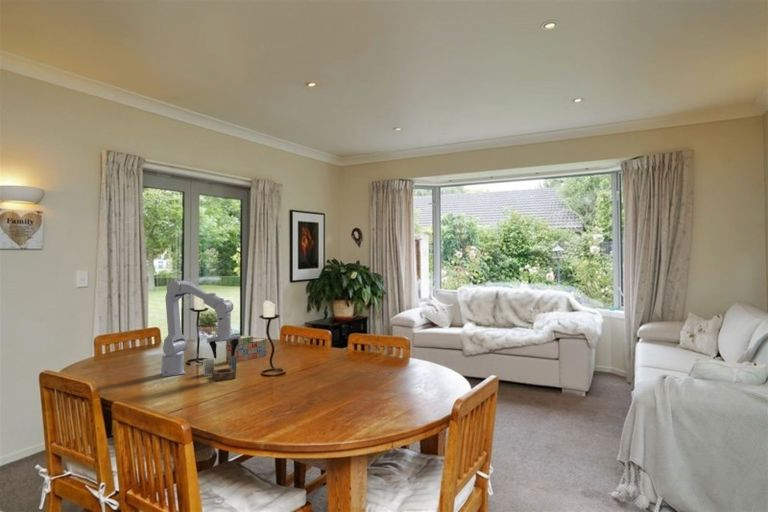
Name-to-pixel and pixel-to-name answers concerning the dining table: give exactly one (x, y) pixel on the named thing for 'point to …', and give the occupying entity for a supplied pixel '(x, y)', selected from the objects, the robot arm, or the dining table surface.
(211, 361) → the block
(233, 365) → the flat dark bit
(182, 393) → the dining table surface
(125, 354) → the dining table surface
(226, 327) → the robot arm
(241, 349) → the stack of blocks
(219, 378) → the walnut bore block
